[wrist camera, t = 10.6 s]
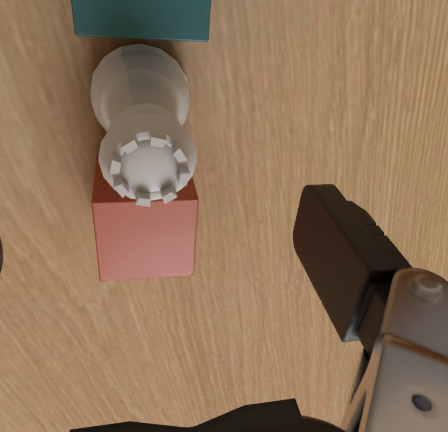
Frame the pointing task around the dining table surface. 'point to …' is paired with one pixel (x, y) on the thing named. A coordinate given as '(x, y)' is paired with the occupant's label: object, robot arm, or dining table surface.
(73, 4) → the teal block
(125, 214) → the terracotta block
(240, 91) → the dining table surface
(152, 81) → the rook chess piece
